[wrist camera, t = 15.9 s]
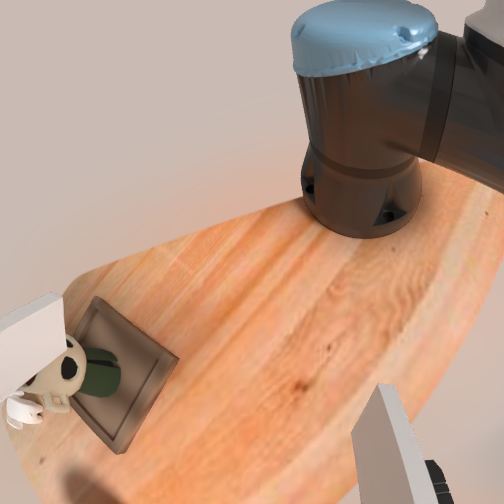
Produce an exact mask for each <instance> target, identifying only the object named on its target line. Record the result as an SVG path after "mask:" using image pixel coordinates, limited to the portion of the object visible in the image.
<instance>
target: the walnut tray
mask: <svg viewBox="0 0 504 504" xmlns="http://www.w3.org/2000/svg"><path fill="white" fill-rule="evenodd" d="M73 338H74V339H75V340H76V341H77V342H78V343H79V344H80V346H81V347H89V348H98V349H104V350H107V351H109V352H112V354H113V355H114V356H115V357H116V358H117V360H118V362H115V361H111V363H112V364H113V367H114V368H120V370H121V379H120V384H119V386H118V388H117V390H116V392H114V393H113V394H111V395H110V396H108V397H102V398H99V397H94V396H90V395H87V394H84V393H80V392H77V391H76V392H75V393H74V394H73V395H71V396H69V397H68V398H69V402H70V405H71V407H72V408H73V409H74V410H75V411H76V413H77V414H78V415H79V416H80V417H81V418H82V419H83V421H84V422H85V423H86V424H87V425H88V426H89V427H90V428H91V429H92V431H93V432H94V433H95V434H96V435H97V436H98V437H99V438H100V439H101V440H102V441H103V442H104V443H105V444H106V445H107V446H108V447H109V448H110V449H111V450H112V451H113V452H114V453H115V454H116V455H118V454H123V453H125V452H126V451H127V449H128V447H129V445H130V444H131V442H132V440H133V438H134V437H135V435H136V433H137V431H138V430H139V428H140V426H141V425H142V423H143V421H144V419H145V418H146V416H147V414H148V412H149V411H150V409H151V407H152V405H153V404H154V402H155V400H156V399H157V397H158V395H159V393H160V392H161V390H162V388H163V386H164V385H165V383H166V381H167V380H168V378H169V376H170V374H171V373H172V371H173V369H174V368H175V366H176V364H177V362H178V361H179V358H177V357H176V356H175V355H173V354H172V353H170V352H169V351H168V350H166V349H165V348H164V347H162V346H161V345H160V344H158V343H157V342H155V341H154V340H153V339H152V338H150V337H149V336H148V335H146V334H145V333H144V332H142V331H141V330H140V329H139V328H137V327H136V326H135V325H133V324H132V323H131V322H130V321H128V320H127V319H126V318H125V317H123V316H122V315H121V314H120V313H119V312H117V311H116V310H115V309H114V308H113V307H111V306H110V305H109V304H108V303H107V302H106V301H104V300H103V299H101V298H99V297H97V296H95V297H94V299H93V300H92V302H91V304H90V306H89V308H88V309H87V311H86V313H85V315H84V317H83V319H82V320H81V322H80V324H79V326H78V328H77V330H76V332H75V334H74V336H73Z"/></svg>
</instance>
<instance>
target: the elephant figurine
mask: <svg viewBox="0 0 504 504" xmlns="http://www.w3.org/2000/svg"><path fill="white" fill-rule="evenodd" d="M23 395H24V392H23V391H22V390H20V389H17V390H16V391H14V392H13V393H12V394H11V395H9V396H8V397H7V414H8V417H7V418H6V421H7V422H8V423H9V424H10V425H11V426H13V427H14V428H16V429H22V428H23V423H27V424H39V423H42V421H43V418H42V416H39V415H37V414H38V413H40V412H43V407H42V406H41V405H39V404H36V403H35V402H34V401H30V400H25V399H22V398H20V397H21V396H23ZM22 422H23V423H22Z"/></svg>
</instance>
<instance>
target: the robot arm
mask: <svg viewBox="0 0 504 504" xmlns="http://www.w3.org/2000/svg"><path fill="white" fill-rule="evenodd" d="M291 42H292V50H293V59H294V61H293V68H294V71H295V72H296V74H297V78H298V83H299V88H300V93H301V97H302V102H303V107H304V113H305V117H306V123H307V129H308V134H309V140H310V142H309V146H308V149H307V152H306V156H305V159H304V162H303V166H302V170H301V185H302V191H303V196H304V199H305V202H306V204H307V206H308V208H309V210H310V211H311V213H312V214H313V215H314V217H315V218H316V219H317V220H318V221H319V222H321V223H322V224H323V225H324V226H326V227H327V228H329V229H331V230H333V231H335V232H337V233H339V234H342V235H345V236H348V237H353V238H361V239H371V238H379V237H383V236H386V235H389V234H392V233H394V232H396V231H398V230H399V229H401V228H402V227H403V226H404V225H406V224H407V223H408V222H409V220H410V219H411V218H412V216H413V215H414V213H415V211H416V209H417V206H418V203H419V200H420V197H421V192H422V178H421V172H420V166H419V160H418V157H419V158H422V159H425V160H427V161H430V162H432V163H435V164H437V165H440V166H442V167H445V168H447V169H450V170H452V171H455V172H457V173H459V174H462V175H464V176H466V177H468V178H471V179H473V180H475V181H477V182H480V183H482V184H484V185H486V186H488V187H490V188H492V189H494V190H496V191H498V192H500V193H502V194H504V0H486V3H485V6H484V7H483V9H481V10H480V11H477V12H475V13H473V14H471V15H469V16H467V17H466V19H465V26H464V35H463V37H458V36H455V35H451V34H448V33H445V32H442V31H439V30H438V23H437V22H436V20H435V17H434V15H433V14H432V13H431V12H430V11H429V10H428V9H426V8H424V7H423V6H421V5H418V4H412V3H411V2H409V1H406V0H335V1H330V2H327V3H324V4H321V5H318V6H316V7H313V8H311V9H309V10H308V11H306V12H305V13H303V14H302V15H301V16H300V17H299V18H298V19H297V20H296V21H295V23H294V25H293V27H292V30H291ZM66 350H67V345H66V336H65V325H64V311H63V297H61V296H59V295H56V294H54V293H52V292H50V293H48V294H46V295H44V296H42V297H40V298H38V299H36V300H34V301H32V302H30V303H28V304H26V305H24V306H22V307H21V308H19V309H17V310H15V311H13V312H11V313H9V314H7V315H5V316H3V317H1V318H0V403H1V402H2V401H3V400H5V399H6V398H7V397H8V396H9V395H11V394H12V393H13V392H14V391H16V390H17V389H18V388H19V387H21V386H22V385H23V384H24V383H25V382H27V381H28V380H29V379H30V378H32V377H33V376H34V375H35V374H37V373H38V372H39V371H40V370H42V369H43V368H44V367H46V366H47V365H48V364H49V363H51V362H52V361H53V360H54V359H56V358H57V357H58V356H60V355H61V354H62V353H63V352H65V351H66ZM351 436H352V442H353V448H354V455H355V462H356V468H357V476H358V483H359V491H360V499H361V504H454V502H453V499H452V496H451V493H449V488H448V485H447V484H446V480H445V477H444V474H443V472H442V470H441V468H440V467H439V466H438V465H437V464H436V463H435V461H434V460H424V458H423V456H422V453H421V450H420V447H419V445H418V442H417V439H416V437H415V434H414V432H413V429H412V426H411V424H410V421H409V419H408V416H407V414H406V411H405V409H404V406H403V404H402V402H401V399H400V397H399V394H398V392H397V390H396V387H395V385H386V384H377V386H376V388H375V390H374V392H373V394H372V395H371V397H370V399H369V401H368V403H367V405H366V407H365V409H364V410H363V412H362V414H361V416H360V418H359V419H358V421H357V423H356V425H355V426H354V428H353V430H352V432H351Z"/></svg>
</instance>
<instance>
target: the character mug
mask: <svg viewBox="0 0 504 504" xmlns="http://www.w3.org/2000/svg"><path fill="white" fill-rule="evenodd" d="M65 336H66V345H67V350H66V351H65V352H63V353H62V354H61V355H60V356H58V357H57V358H56V359H54V360H53V361H52V362H51V363H49V364H48V365H47V366H46V367H44V368H43V369H42V370H40V371H39V372H38V373H37V374H35V375H34V376H33V377H32V378H30V379H29V380H28V381H27V382H25V383H24V384H23V385H22V386H21V387H19V389H20V390H22V391H23V392H27V393H33V394H40V395H43V400H44V404H45V407H46V409H47V410H48V411H50V412H56V413H69V412H70V411H71V406H70V402H69V398H68V397H69V396H71V395H73V394H74V393H75V392H76V391H77V392H80V393H84V394H87V395H90V396H94V397H99V398H102V397H108V396H110V395H111V394H113V393H114V392H116V390H117V388H118V386H119V384H120V379H121V370H120V368H114V367H113V364H112V363H111V361H115V362H118V360H117V358H116V357H115V356H114V355H113V354H112V352H109V351H107V350H104V349H98V348H89V347H81V346H80V344H79V343H78V342H77V341H76V340H75V339H74V338H73V337H71V336H70V335H68V334H66V333H65ZM52 396H54V397H59V398H60V401H61V404H56V403H54V402H53V399H52Z"/></svg>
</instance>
